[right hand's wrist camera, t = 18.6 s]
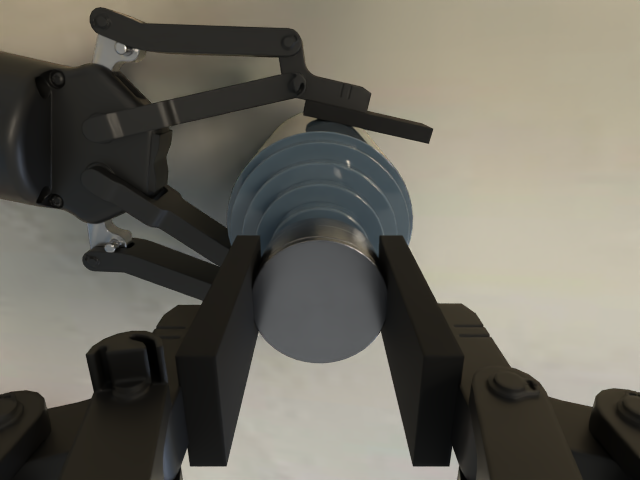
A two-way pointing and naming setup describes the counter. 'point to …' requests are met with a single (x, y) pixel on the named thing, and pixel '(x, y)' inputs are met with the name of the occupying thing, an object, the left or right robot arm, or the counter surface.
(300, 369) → the counter surface
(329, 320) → the cap
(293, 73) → the left robot arm
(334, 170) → the bottle
